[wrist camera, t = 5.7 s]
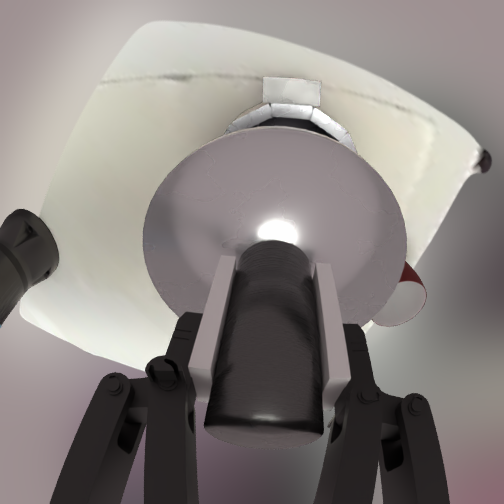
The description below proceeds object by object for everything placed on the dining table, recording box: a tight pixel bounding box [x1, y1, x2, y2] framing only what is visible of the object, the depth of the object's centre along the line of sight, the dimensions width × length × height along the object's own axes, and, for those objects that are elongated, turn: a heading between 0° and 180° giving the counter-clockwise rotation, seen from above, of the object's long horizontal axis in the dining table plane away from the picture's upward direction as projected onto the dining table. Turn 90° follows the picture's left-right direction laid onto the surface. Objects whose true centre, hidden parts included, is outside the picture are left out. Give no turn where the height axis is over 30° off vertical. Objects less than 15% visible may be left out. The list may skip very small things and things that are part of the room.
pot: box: [224, 77, 358, 154], centre depth 29 cm, size 14×19×9 cm
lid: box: [143, 126, 407, 449], centre depth 13 cm, size 15×15×12 cm
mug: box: [372, 261, 427, 327], centre depth 35 cm, size 11×8×10 cm
